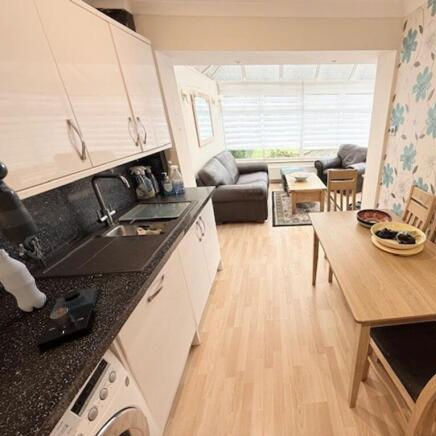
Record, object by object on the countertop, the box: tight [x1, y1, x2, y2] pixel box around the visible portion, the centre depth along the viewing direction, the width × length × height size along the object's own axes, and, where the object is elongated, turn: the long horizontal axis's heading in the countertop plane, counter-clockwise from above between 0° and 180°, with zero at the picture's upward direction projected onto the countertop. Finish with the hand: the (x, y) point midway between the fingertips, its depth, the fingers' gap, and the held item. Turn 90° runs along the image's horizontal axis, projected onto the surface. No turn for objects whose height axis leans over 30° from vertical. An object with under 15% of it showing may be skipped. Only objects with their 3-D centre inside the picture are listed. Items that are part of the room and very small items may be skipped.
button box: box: [49, 286, 99, 318], centre depth 89 cm, size 12×10×4 cm
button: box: [63, 289, 79, 301], centre depth 88 cm, size 4×4×2 cm
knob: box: [49, 308, 75, 330], centre depth 76 cm, size 4×4×5 cm
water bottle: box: [0, 248, 47, 313], centre depth 85 cm, size 7×7×25 cm
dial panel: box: [36, 307, 96, 352], centre depth 78 cm, size 12×10×3 cm
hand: (42, 267), depth 80 cm, fingers closed
